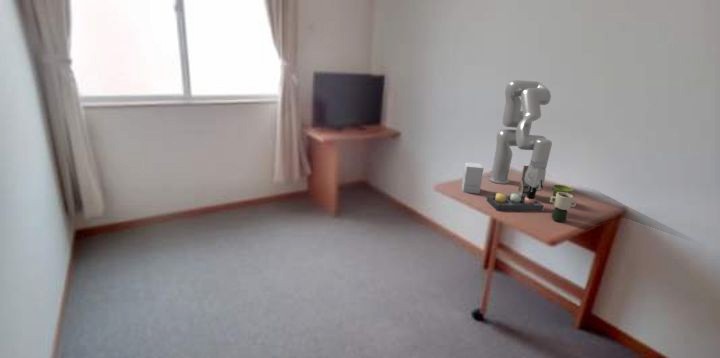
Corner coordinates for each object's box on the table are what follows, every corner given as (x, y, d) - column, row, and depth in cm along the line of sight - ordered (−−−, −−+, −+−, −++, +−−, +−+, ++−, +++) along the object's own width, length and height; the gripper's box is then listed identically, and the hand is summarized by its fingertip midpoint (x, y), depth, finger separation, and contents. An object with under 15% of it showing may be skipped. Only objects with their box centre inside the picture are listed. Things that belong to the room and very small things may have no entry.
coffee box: (533, 199, 201) (540, 171, 195) (520, 198, 202) (527, 169, 196) (529, 193, 209) (535, 166, 204) (517, 192, 210) (523, 164, 205)
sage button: (507, 200, 192) (509, 193, 191) (516, 200, 193) (518, 193, 191) (512, 204, 187) (514, 196, 186) (521, 204, 188) (523, 197, 187)
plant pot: (556, 206, 194) (560, 190, 191) (545, 199, 202) (548, 184, 200) (572, 206, 195) (576, 190, 192) (560, 199, 204) (564, 184, 201)
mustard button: (493, 200, 191) (494, 192, 190) (502, 200, 192) (503, 193, 190) (497, 204, 186) (498, 196, 185) (506, 204, 187) (508, 196, 186)
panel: (486, 200, 195) (487, 195, 194) (529, 201, 198) (530, 196, 197) (497, 210, 184) (498, 205, 183) (542, 211, 187) (543, 205, 186)
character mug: (569, 219, 179) (576, 194, 175) (572, 225, 173) (579, 199, 168) (544, 214, 182) (551, 190, 178) (546, 220, 176) (553, 195, 171)
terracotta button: (521, 203, 194) (523, 196, 192) (530, 203, 194) (532, 196, 193) (526, 207, 189) (528, 200, 188) (535, 207, 190) (537, 200, 188)
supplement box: (477, 188, 212) (482, 163, 207) (479, 194, 204) (484, 168, 199) (461, 186, 213) (465, 161, 208) (462, 192, 205) (466, 166, 200)
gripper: (523, 159, 190) (516, 192, 197) (539, 168, 176) (531, 204, 183) (537, 159, 191) (529, 192, 198) (554, 168, 177) (545, 204, 184)
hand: (530, 198), depth 190 cm, fingers closed
